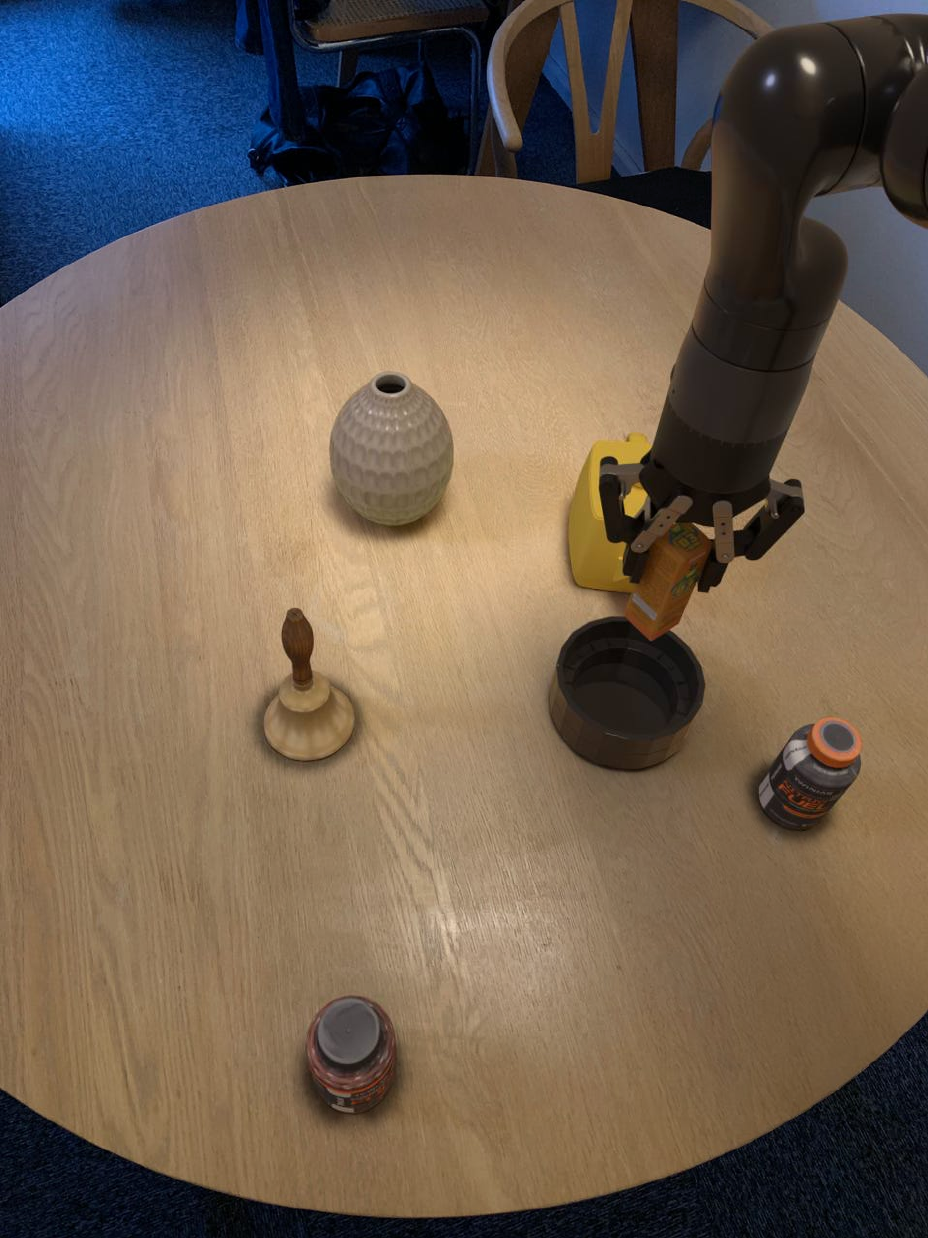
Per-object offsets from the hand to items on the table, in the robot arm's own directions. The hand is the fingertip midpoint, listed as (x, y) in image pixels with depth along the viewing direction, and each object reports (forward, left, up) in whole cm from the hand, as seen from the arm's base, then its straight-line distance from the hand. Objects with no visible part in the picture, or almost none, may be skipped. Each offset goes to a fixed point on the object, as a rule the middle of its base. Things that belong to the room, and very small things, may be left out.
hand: (668, 578), depth 69 cm
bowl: (+1, -2, -22) cm, 22 cm away
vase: (+35, 0, -22) cm, 42 cm away
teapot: (+15, -16, -22) cm, 31 cm away
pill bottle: (-15, -8, -22) cm, 28 cm away
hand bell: (+17, +22, -22) cm, 36 cm away
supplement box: (0, 0, -6) cm, 6 cm away
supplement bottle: (-10, +35, -22) cm, 43 cm away
